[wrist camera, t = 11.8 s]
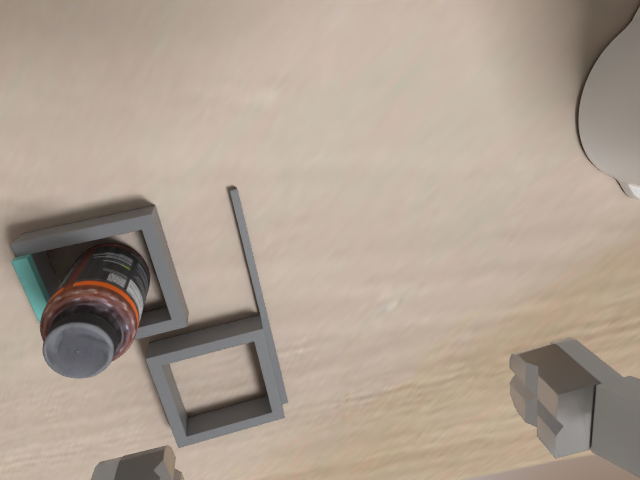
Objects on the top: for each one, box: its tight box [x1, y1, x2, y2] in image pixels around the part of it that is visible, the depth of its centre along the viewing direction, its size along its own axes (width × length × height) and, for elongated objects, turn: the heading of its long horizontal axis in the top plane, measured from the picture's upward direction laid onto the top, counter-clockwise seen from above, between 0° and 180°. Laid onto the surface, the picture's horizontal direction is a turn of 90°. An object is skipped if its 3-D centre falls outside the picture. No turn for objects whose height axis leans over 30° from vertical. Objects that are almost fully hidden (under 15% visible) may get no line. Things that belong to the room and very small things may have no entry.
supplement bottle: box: [40, 244, 150, 378], centre depth 33 cm, size 6×6×11 cm
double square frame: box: [11, 188, 288, 448], centre depth 39 cm, size 17×22×3 cm
